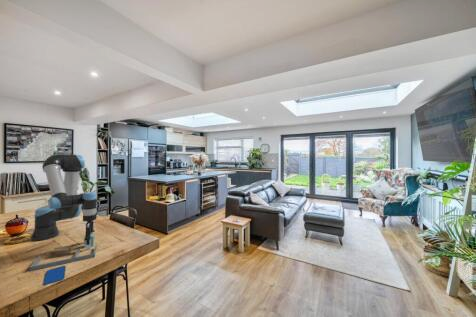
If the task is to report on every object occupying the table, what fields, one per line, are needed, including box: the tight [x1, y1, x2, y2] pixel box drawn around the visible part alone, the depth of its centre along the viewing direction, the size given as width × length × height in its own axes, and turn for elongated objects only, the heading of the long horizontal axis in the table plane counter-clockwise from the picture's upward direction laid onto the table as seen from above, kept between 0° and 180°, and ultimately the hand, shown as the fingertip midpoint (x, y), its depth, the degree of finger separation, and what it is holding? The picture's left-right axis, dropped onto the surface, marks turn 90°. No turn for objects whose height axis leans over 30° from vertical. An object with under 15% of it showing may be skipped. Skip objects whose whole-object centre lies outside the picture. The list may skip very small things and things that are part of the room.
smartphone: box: [43, 265, 67, 286], centre depth 96 cm, size 7×1×15 cm
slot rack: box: [28, 244, 98, 272], centre depth 113 cm, size 14×28×2 cm, turn 122°
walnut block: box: [50, 245, 72, 259], centre depth 117 cm, size 4×8×5 cm
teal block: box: [83, 233, 95, 249], centre depth 129 cm, size 5×5×7 cm
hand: (89, 245), depth 129 cm, fingers open, 12 cm apart
